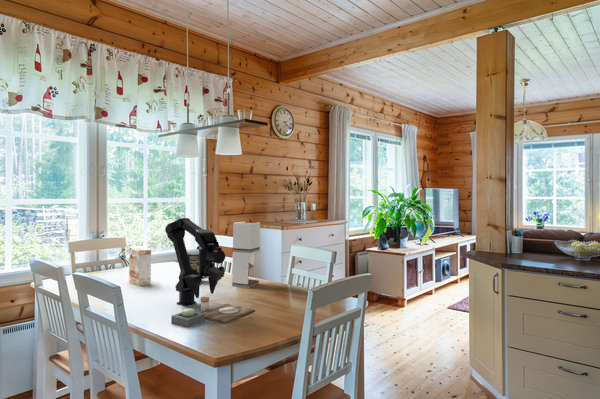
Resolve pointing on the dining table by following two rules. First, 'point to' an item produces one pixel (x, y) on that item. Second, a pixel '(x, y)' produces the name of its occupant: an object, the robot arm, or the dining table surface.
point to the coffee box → (194, 260)
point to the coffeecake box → (140, 265)
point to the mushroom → (204, 303)
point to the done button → (188, 312)
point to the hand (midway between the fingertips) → (204, 295)
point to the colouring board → (226, 313)
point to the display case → (244, 252)
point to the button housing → (187, 319)
